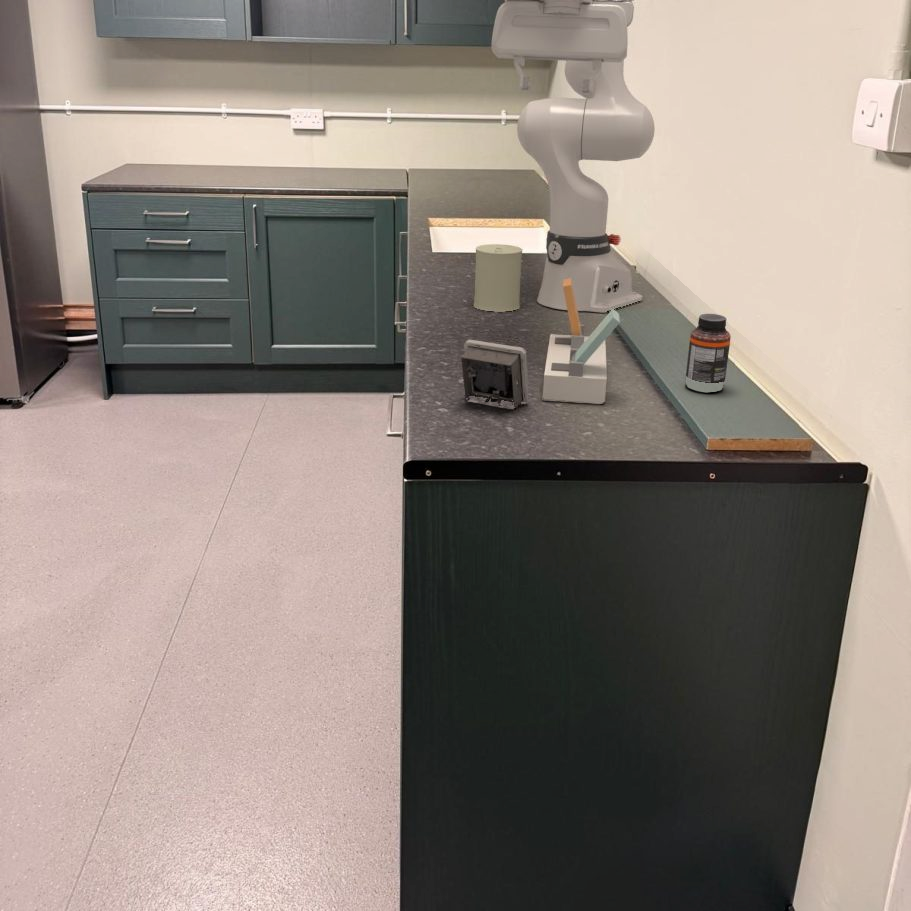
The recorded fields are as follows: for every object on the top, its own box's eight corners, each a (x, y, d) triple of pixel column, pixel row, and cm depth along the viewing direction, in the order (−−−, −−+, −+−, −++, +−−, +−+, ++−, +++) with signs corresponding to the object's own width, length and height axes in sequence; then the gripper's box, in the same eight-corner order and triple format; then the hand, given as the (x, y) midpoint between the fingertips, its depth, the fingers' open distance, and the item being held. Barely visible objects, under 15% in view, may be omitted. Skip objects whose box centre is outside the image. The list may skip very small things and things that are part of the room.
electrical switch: (529, 404, 141) (531, 344, 136) (516, 418, 137) (517, 356, 132) (471, 393, 144) (470, 335, 140) (456, 407, 140) (455, 347, 136)
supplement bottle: (695, 379, 153) (704, 309, 149) (730, 388, 150) (740, 316, 145) (677, 388, 149) (685, 316, 144) (713, 397, 145) (723, 324, 141)
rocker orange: (574, 346, 154) (562, 286, 150) (574, 337, 159) (563, 279, 155) (582, 344, 153) (571, 285, 150) (583, 335, 158) (571, 277, 155)
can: (473, 311, 188) (475, 250, 184) (473, 300, 197) (475, 241, 192) (520, 313, 188) (523, 251, 184) (519, 301, 197) (522, 242, 192)
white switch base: (542, 401, 142) (544, 361, 139) (550, 347, 167) (552, 313, 165) (604, 405, 141) (608, 365, 138) (602, 350, 166) (605, 316, 164)
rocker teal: (569, 368, 141) (612, 317, 137) (570, 357, 146) (612, 308, 142) (576, 374, 141) (620, 323, 137) (577, 363, 146) (619, 313, 142)
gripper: (634, -1, 144) (625, 97, 148) (498, -5, 147) (492, 91, 151) (635, -11, 138) (625, 91, 142) (493, -15, 141) (486, 85, 145)
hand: (555, 91), depth 146 cm, fingers open, 8 cm apart
